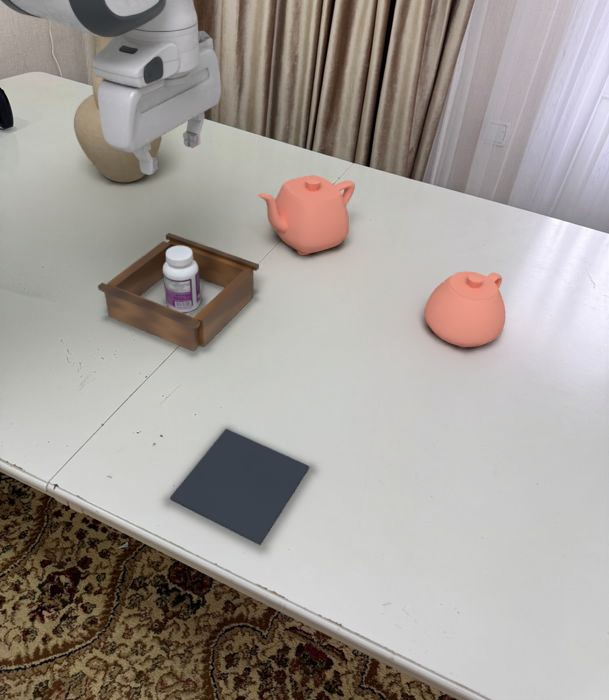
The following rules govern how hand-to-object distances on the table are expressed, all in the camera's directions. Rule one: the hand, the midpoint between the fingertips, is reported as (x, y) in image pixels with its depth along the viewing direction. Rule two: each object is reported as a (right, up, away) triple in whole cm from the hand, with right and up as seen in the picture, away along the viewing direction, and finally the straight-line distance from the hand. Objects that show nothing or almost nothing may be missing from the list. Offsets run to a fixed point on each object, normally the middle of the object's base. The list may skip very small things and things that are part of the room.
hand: (171, 158), depth 83 cm
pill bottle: (-2, -18, +16) cm, 25 cm away
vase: (-20, +11, +47) cm, 52 cm away
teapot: (+18, -5, +32) cm, 37 cm away
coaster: (+10, -41, -8) cm, 43 cm away
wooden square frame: (-2, -18, +16) cm, 24 cm away
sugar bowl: (+43, -22, +16) cm, 51 cm away
